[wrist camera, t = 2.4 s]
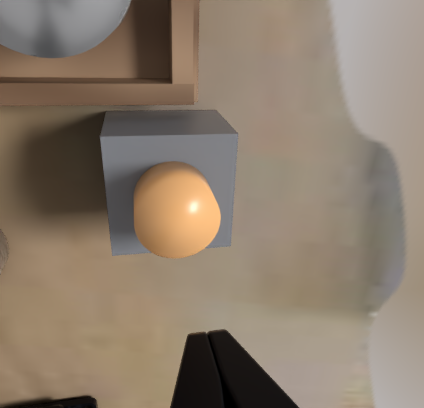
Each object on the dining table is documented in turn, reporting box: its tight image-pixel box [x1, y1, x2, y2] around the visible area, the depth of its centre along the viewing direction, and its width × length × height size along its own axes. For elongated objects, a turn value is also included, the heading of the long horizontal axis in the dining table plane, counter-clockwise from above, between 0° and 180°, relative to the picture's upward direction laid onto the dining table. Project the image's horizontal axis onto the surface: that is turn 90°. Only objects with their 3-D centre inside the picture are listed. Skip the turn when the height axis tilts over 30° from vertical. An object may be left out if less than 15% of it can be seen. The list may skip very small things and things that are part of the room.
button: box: [133, 161, 221, 258], centre depth 14 cm, size 3×3×2 cm
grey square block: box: [100, 110, 238, 256], centre depth 16 cm, size 5×5×4 cm
